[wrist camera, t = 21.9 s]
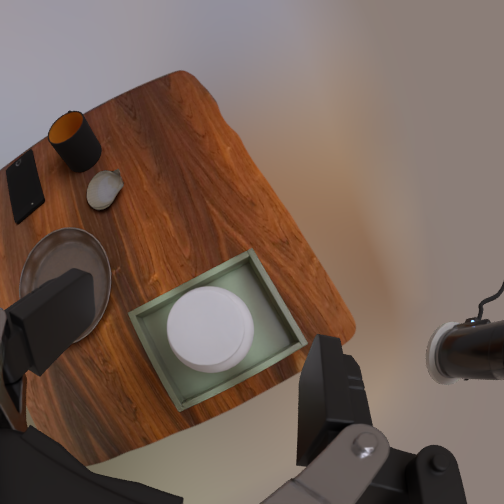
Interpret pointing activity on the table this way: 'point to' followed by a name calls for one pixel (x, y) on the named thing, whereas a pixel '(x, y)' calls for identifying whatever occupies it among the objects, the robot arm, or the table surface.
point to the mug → (75, 141)
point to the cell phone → (24, 186)
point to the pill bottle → (210, 329)
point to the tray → (264, 341)
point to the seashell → (104, 189)
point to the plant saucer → (69, 265)
